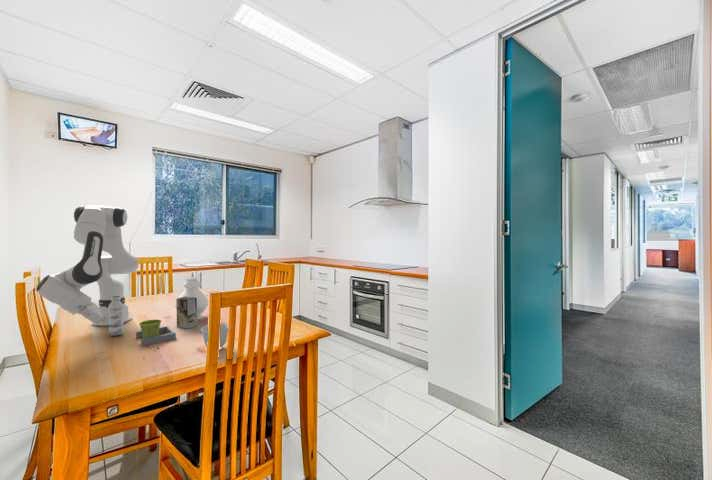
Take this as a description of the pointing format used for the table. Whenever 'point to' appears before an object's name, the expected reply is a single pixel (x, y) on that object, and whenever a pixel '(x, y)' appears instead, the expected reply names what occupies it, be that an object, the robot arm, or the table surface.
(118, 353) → the table surface
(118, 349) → the table surface
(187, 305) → the coffee box
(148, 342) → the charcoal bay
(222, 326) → the teacup
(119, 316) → the plastic bottle
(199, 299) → the decorative vase
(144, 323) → the plant pot
